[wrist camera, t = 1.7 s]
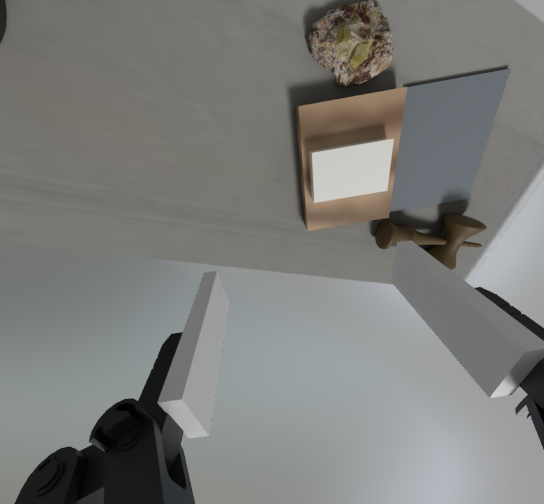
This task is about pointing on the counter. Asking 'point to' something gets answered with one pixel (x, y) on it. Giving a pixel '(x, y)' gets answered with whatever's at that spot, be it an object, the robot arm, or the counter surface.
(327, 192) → the stone tile
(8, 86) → the counter surface
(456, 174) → the mat
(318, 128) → the tan wooden board
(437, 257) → the kendama
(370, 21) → the mineral rock
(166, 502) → the robot arm
